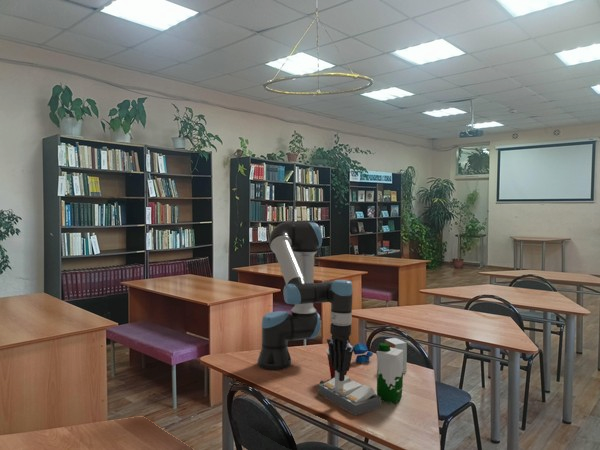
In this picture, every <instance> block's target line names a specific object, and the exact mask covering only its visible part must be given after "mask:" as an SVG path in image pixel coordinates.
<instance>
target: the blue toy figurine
mask: <svg viewBox="0 0 600 450" xmlns="http://www.w3.org/2000/svg"><path fill="white" fill-rule="evenodd" d="M353 346H354V347H355V349H354V351H353V354H354V355H356V358H355V361H356V363H359V364H364V363H367V362H369V360H370V357H372V356H373V354H374V352H372V351H369V349H368V347H367V345H366V344H365V343H364V344H363V343H360V342H358V343H355V344H354V345H353Z"/></svg>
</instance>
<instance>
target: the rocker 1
mask: <svg viewBox="0 0 600 450" xmlns="http://www.w3.org/2000/svg"><path fill="white" fill-rule="evenodd" d="M351 381H352V380H351V377H350V376H348V375H347V374H346V375H345V378H344V384H345V383H348V382H351ZM325 382H326V383H324V386H325V387H327V388H329V389H330V390H335V377H334V378H333V379H331V378H330V379H329V380H328V381H325Z"/></svg>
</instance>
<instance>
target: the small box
mask: <svg viewBox="0 0 600 450" xmlns="http://www.w3.org/2000/svg"><path fill="white" fill-rule="evenodd" d="M384 343H389V344H390V347H391V348H397V349H400V350H403V373H407V359H408V358H407V355H408V353H407V351H408V343H407V342H406V341H403V340H402V339H399V338H397V337H392V338H391V337H390V338H386V339H384Z"/></svg>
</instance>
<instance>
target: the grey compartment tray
mask: <svg viewBox="0 0 600 450" xmlns="http://www.w3.org/2000/svg"><path fill="white" fill-rule="evenodd" d="M326 382H327V381H325V380H320V382H319V384H318V395H320V396H322V397H323V398H325V399H327V400H329V401H330V402H332V403H333V404H335V405H337V406H338V407H340V408H342V409H343V410H345V411H346V412H349V413H350V414H352V415H354V416H355V417H356V416H359V415H362V414H365V413H367V412H371V411H373V410H376V409H379V408H382V401H381V397H380V396H378V395H377V393H376V394H374V395H372V396H371V397H369V398H368V399H366V400H365V401H362V402H359V403H356V404H355V403H354V402H352V401H350V400H348V399H347V398H346V396H344V397H343V396H341V395H339V394H338V393H336V392H335V390H330V389H329V388H327V387H325V386H324V383H326Z"/></svg>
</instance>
